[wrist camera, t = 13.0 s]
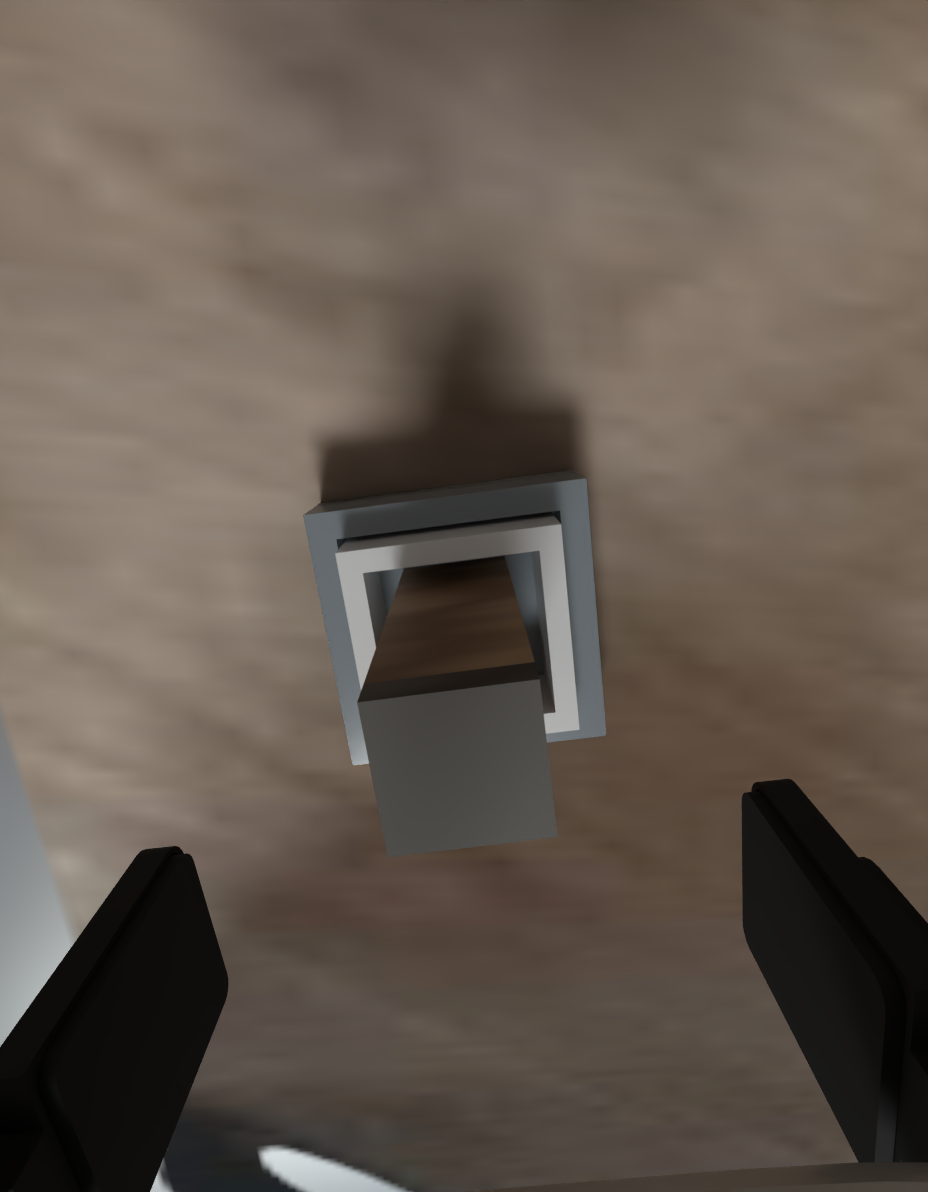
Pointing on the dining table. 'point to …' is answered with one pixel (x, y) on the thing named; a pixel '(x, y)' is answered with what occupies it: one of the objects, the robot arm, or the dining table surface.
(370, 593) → the candle tray
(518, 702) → the brown tall boxy piece
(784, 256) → the dining table surface
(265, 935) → the dining table surface
